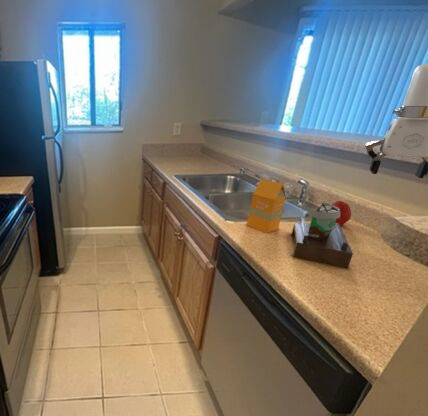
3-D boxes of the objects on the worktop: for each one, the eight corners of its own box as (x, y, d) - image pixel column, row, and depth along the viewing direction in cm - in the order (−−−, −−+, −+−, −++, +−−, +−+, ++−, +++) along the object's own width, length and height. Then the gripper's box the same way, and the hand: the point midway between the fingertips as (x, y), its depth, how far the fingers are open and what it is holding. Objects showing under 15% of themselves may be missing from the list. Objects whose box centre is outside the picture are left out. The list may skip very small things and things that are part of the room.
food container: (328, 245, 87) (338, 216, 83) (305, 238, 91) (313, 211, 87) (336, 233, 95) (345, 206, 91) (314, 227, 99) (322, 201, 95)
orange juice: (257, 222, 118) (267, 177, 111) (278, 230, 111) (289, 182, 104) (246, 226, 115) (255, 180, 108) (266, 234, 108) (277, 185, 100)
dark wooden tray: (336, 244, 99) (343, 223, 96) (346, 270, 84) (355, 246, 81) (290, 235, 106) (296, 215, 103) (292, 258, 91) (298, 235, 88)
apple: (352, 228, 111) (361, 203, 108) (331, 228, 112) (339, 204, 108) (336, 220, 119) (344, 197, 115) (317, 220, 119) (324, 197, 116)
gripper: (379, 113, 75) (359, 174, 81) (475, 114, 67) (444, 182, 73) (372, 112, 81) (354, 169, 87) (459, 113, 73) (432, 175, 79)
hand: (395, 175), depth 80 cm, fingers open, 9 cm apart
